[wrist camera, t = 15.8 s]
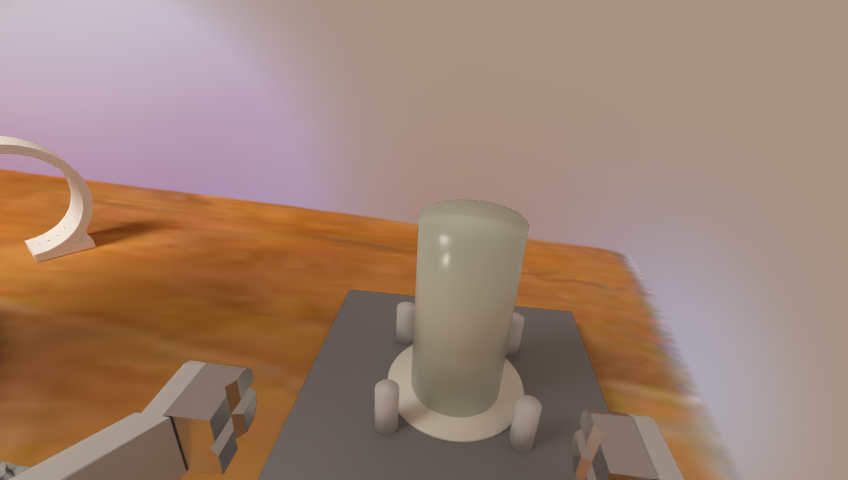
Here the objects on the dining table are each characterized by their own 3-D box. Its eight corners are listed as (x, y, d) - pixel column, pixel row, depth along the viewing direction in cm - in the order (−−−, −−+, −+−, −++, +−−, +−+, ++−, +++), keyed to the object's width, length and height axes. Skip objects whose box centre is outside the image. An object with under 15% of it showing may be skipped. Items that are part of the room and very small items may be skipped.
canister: (392, 377, 28) (396, 214, 23) (452, 339, 32) (467, 192, 26) (458, 435, 24) (481, 255, 19) (517, 384, 28) (550, 223, 23)
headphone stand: (27, 247, 44) (-20, 136, 39) (94, 231, 49) (60, 129, 43) (36, 262, 42) (-12, 145, 37) (107, 244, 46) (72, 136, 41)
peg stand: (244, 533, 20) (230, 474, 18) (350, 303, 38) (348, 261, 36) (660, 592, 19) (693, 536, 17) (567, 325, 37) (578, 282, 35)
